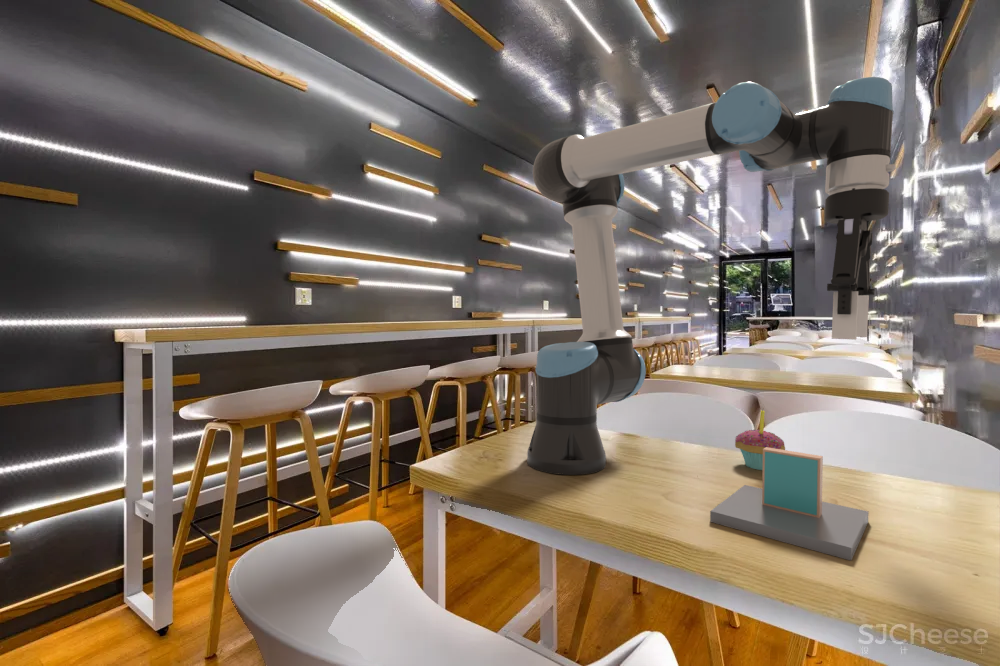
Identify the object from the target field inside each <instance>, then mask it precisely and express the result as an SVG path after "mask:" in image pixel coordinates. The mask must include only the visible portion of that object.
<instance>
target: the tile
mask: <svg viewBox="0 0 1000 666" xmlns="http://www.w3.org/2000/svg"><path fill="white" fill-rule="evenodd" d="M823 460H824V457H823V455H818V454H813V453H812V454H811V453H805V452H799V451H792V450H786V449H785V450H781V449H775V448H769V447H765V448H764V449H763V470H762V484H761V485H762V487H761V488H762V504H763V505H767V506H771V507H776V508H780V509H784V510H788V511H793V512H797V513H801V514H805V515H810V516H814V517H818V518H820V516H821V515H822V502H823V474H824V473H823V468H824V467H823V466H824V464H823V463H824V461H823Z"/></svg>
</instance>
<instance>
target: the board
mask: <svg viewBox="0 0 1000 666" xmlns="http://www.w3.org/2000/svg"><path fill="white" fill-rule="evenodd" d="M709 513H710V516H709V517H710V518H709V520H710V523H714V524H717V525H719V526H720V525H721V526H725V527H727V528H732V529H734V530H735V529H736V530H739V531H743V532H746V533H749V534H753V535H757V536H760V537H764V538H768V539H771V540H776V541H779V542H783V543H785V544H790V545H794V546H797V547H801V548H804V549H807V550H811V551H816V552H818V553H822V554H827V555H829V556H833V557H836V558H840V559H844V560H848V561H852V560H853V557H854V556H855V554H856V550H857V549H858V546H859V544H860V542H861V540H862V537H863V535H864V533H865V531H866V528H867V526H868V523H869V511H867V510H864V509H858V508H854V507H849V506H845V505H841V504H836V503H832V502H825V501H822V515H821V516H820V518H818V517H814V516H810V515H805V514H801V513H797V512H793V511H788V510H784V509H780V508H776V507H771V506H767V505H763V504H762V487H761V488H760V487H756V486H751V485H747V484H744V485H742V486H741V487H740V488H739V489H737V490H736V491H735V492H734V493H732V494H731V495H729V496H728V497H727V498H725V499H724V500H722V501H721V502H719V504H718V505H717V506H715V507H713V509H711V510H710V512H709Z"/></svg>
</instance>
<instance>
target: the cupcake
mask: <svg viewBox="0 0 1000 666" xmlns="http://www.w3.org/2000/svg"><path fill="white" fill-rule="evenodd" d="M764 407H765V406H762V410H760V417H759V429H749V430H744V431H743V432H742V433H741V432H740V433H739V434H737V435H736V436H735V439H734V440H735V441H734V447H735V448H736V449H739V450H740V453H741V455H742V458H743V460H744V464H745V466H746V467H747V468H751V469H754V470H759V471H763V449H764V448H765V447H769V448H775V449H781V450H786V446H785V442H784V440H783V439H782V438H781V437H779V436H778V435H776V434H775V433H773V432H771V431H766V430H764V427H765V426H764V425H765V424H764V423H765V412H766V411H765V410H764Z"/></svg>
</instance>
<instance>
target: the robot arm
mask: <svg viewBox="0 0 1000 666" xmlns="http://www.w3.org/2000/svg"><path fill="white" fill-rule="evenodd" d="M827 101H828V102H827V105H825V106H821V107H818V108H815V109H812V110H808V111H804V112H799V113H796V114H795V113H794V112H793V111H792V110H791V109H790V108H788V107H787V106H786V105H785V104H784V103H783V102H782V101H781V100H780V99H779V98H778V95H776V93H774V92H773V91H772V90H770V89H769V88H767V87H765V86H762V85H761V84H760V83H757V82H752V81H745V82H739V83H737V84H734V85H732V86H731V87H730V88H729V89H727V90H726V91H725V92H723V93H722V94H721V95H720V96H719V98H718V99H717V101H716V102H711V103H708V104H704V105H700V106H697V107H693V108H689V109H686V110H682V111H679V112H674V113H671V114H668V115H663V116H661V117H660V116H659V117H656V118H653V119H649V120H646V121H642V122H638V123H634V124H630V125H626V126H623V127H620V128H616V129H613V130H609V131H604V132H600V133H597V134H593V135H590V136H586V137H583V136H582V135H581V134H571V135H569V136H568V135H567V136H565V137H561V138H558V139H555V140H553V141H551V142H550V143H549V142H548V143H547V144H546V145H545V146H544V147H543V148H541V150H539V152H538V154H537V155H536V157H535V160H534V162H533V166H532V177H533V183H534V184H535V187H536V189H537V190H538V192H539V193H540V194H541V195H542V196H543V197H544V198H546V199H547V200H550V201H553V202H556V203H560V204H562V210H563V218H564V221H565V222H566V223H567V224H569V225H570V226H571V229H572V240H573V250H574V256H575V257H574V259H575V267H576V268H575V271H576V276H577V277H576V278H577V287H578V296H579V297H578V298H579V307H580V315H581V316H580V318H581V325H582V334H581V336H580V337H579V339H578V340H577V341H568V342H557V343H552V344H549V345H545V346H543V347H542V348H540V349H539V350H538V352H537V354H536V355H537V356H536V365H535V381H536V382H535V385H536V386H535V391H536V392H535V397H536V399H535V400H536V402H535V404H536V405H535V406H536V408H535V409H536V416H535V417H536V418H535V419H536V422H535V423H536V424H535V427H534V430H533V433H532V436H531V438H530V442H529V446H528V448H527V453H526V457H527V458H526V460H527V461H526V462H527V464H528V466H529V467H531V468H533V469H534V470H537V471H540V472H543V473H547V474H548V473H549V474H556V475H564V476H565V475H566V476H567V475H570V476H571V475H573V476H575V475H576V476H577V475H578V476H579V475H587V474H592V473H598V472H600V471H602V470H604V469H605V468H606V466H607V465H606V464H607V463H606V462H607V460H606V457H607V455H606V451H605V447H604V444H603V441H602V438H601V434H600V431H599V429H598V425H597V423H598V421H597V419H598V418H597V414H598V413H597V412H598V408H597V406H598V405H601V404H608V403H615V402H616V403H617V402H621V401H624V400H626V399H628V398H631V397H633V396H634V395H636V394H637V393H638V392H639V391H640V389H641V388H642V386H643V384H644V382H645V378H646V375H647V373H646V371H647V370H646V364H645V360H644V358H643V356H642V354H640V353H639V352H638V351H637V350H636V348H634V343H633V338H632V335H631V334H630V333H629V332H628V331H626V330H625V328H624V324H623V323H624V322H623V321H624V320H623V312H622V303H621V295H620V287H619V286H620V285H619V275H618V274H619V273H618V266H617V257H616V249H615V240H614V230H613V222H612V221H613V219H614V218H615V216H616V215H617V214H618V212H619V209H618V205H619V204H620V203H621V198H622V197H623V196H624V193H625V187H626V186H625V183H626V182H625V177H624V175H623V174H627V173H633V172H637V171H642V170H647V169H653V168H656V167H657V168H658V167H661V166H667V165H668V166H669V165H672V164H678V163H682V162H688V161H693V160H697V159H698V160H699V159H703V158H707V157H712V156H720V155H725V154H729V153H734V152H735V153H736V152H738V151H739V152H738V154H739V159H740V161H741V162H740V163H741V164H742V165H743V168H744V169H745V170H746V171H748V172H750V173H758V172H763V171H764V172H765V171H767V172H769V171H770V172H771V171H773V170H776V169H780V168H781V169H782V168H785V167H791V166H795V165H801V164H805V163H810V162H815V161H820V160H824V159H826V167H825V189H824V191H825V194H827V195H828V196H827V197H826V198H825V199H824V201H825V202H824V204H825V205H824V221H826V222H827V223H829V224H836V226H837V233H836V244H835V245H836V246H835V253H834V261H833V268H832V277H831V279H830V283H827V285H826V290H827V292H833V294H832V295H833V296H832V297H833V298H832V319H831V322H832V323H831V324H832V325H831V339H835V340H855V341H856V340H857V338H868V324H869V303H870V300H869V298H870V296H875V288H872V286H871V284H870V283H871V276H870V275H871V274H870V273H871V271H870V269H871V263H870V261H871V256H872V244H873V241H874V238H873V232H872V231H871V229H868V226H867V224H868V223H869V222H872V221H879V220H881V219H884V218H886V217H887V216H888V215H889V209H890V207H889V204H890V203H889V201H890V192H889V191H888V190H886V189H887V188H888V186H889V185H890V174H889V172H893V171H895V170H896V169H897V166H896V164H894V163H892V164H890V163H891V155H892V153H891V151H892V150H891V149H892V148H891V147H892V136H893V135H892V134H893V121H894V114H895V112H894V108H893V85H892V82H890V81H889V80H888V79H886V78H884V77H880V76H866V77H860V78H856V79H853V80H849V81H847V82H846V83H844V84H840V85H838V86H836V87H835V88H834V89H833V90H832V91H831V92H830V95H829V99H828V100H827Z"/></svg>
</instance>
